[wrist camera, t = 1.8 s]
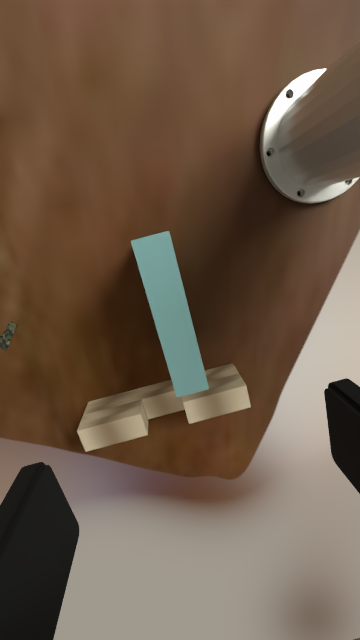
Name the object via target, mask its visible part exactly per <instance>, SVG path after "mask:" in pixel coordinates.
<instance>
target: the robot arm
mask: <svg viewBox="0 0 360 640" xmlns="http://www.w3.org/2000/svg"><path fill="white" fill-rule="evenodd" d="M285 95H286V96H287V97H288V99H287V98H286V96H285ZM267 152H268V153H269V154H270V155H269V157H268V156H267ZM260 156H261V162H262V165H263V169H264V172H265V174H266V176H267V178H268V180H269V181H270V183H271V184H272V185H273V186H274V188H275V189H276V190H277V191H278V192H280V193H281V194H282V195H283V196H285V197H287V198H288V199H290V200H292V201H296V202H300V203H309V204H312V203H319V202H324V201H327V200H331V199H333V198H335V197H337V196H339V195H341V194H342V193H344V192H345V191H347V190H348V189H349V188H350V187H351V186H352V185H353V184H354V183H355V182H356V181H357V180H358V179H359V178H360V38H359V39H358V40H357V41H355V42H354V43H353V44H352V45H351V46H350V47H349V48H348V49H347V50H346V51H345V52H344V53H343V54H342V55H341V56H340V57H339V58H338V59H337V60H336V61H335V62H334V63H333V64H331V65H330V66H329V67H328V68H323V69H316V70H312V71H309V72H307V73H304V74H302V75H300V76H299V77H297V78H296V79H294V80H292V81H291V82H290V83H289V84H288V85H287V86H286V87H285V88H284V89H283V90H282V91H281V92H280V93H279V94H278V96H277V97H276V98H275V99H274V101H273V103H272V104H271V106H270V108H269V109H268V111H267V114H266V116H265V119H264V121H263V125H262V130H261V134H260ZM297 192H299V196H298V195H297ZM325 401H326V410H327V419H328V428H329V436H330V445H331V453H332V457H333V459H334V461H335V463H336V464H337V466H338V467H339V468H340V470H341V471H342V472H343V473H344V475H345V476H346V477H347V478H348V480H349V481H350V482H351V483H352V485H353V486H354V487H355V488H356V489H357V491H358V492H359V493H360V387H359V386H358V385H356V384H355V383H353V382H352V381H351V380H349V379H342V380H339V381H335V382H332V383H329V385H328V389H325ZM78 537H79V525H78V522H77V520H76V518H75V516H74V514H73V512H72V510H71V508H70V506H69V504H68V502H67V500H66V497H65V495H64V493H63V491H62V489H61V487H60V485H59V483H58V481H57V479H56V477H55V475H54V473H53V471H52V469H51V467H50V466H49V465H45V464H44V463H43V462H39V463H35V464H32V465H28V466H25V467H23V468H22V469H21V470H20V472H19V473H18V475H17V477H16V479H15V480H14V482H13V484H12V486H11V487H10V489H9V491H8V493H7V494H6V496H5V498H4V500H3V502H2V503H1V505H0V640H53V638H54V634H55V629H56V625H57V621H58V618H59V613H60V610H61V606H62V602H63V598H64V593H65V590H66V586H67V581H68V577H69V573H70V569H71V565H72V561H73V557H74V553H75V549H76V545H77V541H78ZM354 640H360V638H358V639H354Z"/></svg>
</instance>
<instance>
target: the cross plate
mask: <svg viewBox="0 0 360 640" xmlns="http://www.w3.org/2000/svg"><path fill="white" fill-rule="evenodd" d="M131 244H132V247H133V251H134V254H135V257H136V261H137V264H138V268H139V271H140V274H141V278H142V281H143V285H144V288H145V291H146V295H147V298H148V302H149V305H150V308H151V312H152V315H153V318H154V322H155V325H156V329H157V332H158V335H159V339H160V342H161V346H162V349H163V352H164V356H165V359H166V363H167V366H168V369H169V373H170V376H171V379H172V383H173V386H174V390H175V393H176V396H177V397H181V396H185V395H188V394H192V393H196V392H200V391H203V390H207V389H209V386H208V382H207V379H206V375H205V371H204V367H203V363H202V359H201V355H200V351H199V347H198V343H197V339H196V335H195V331H194V327H193V323H192V319H191V315H190V311H189V307H188V303H187V299H186V296H185V292H184V288H183V284H182V280H181V276H180V272H179V268H178V264H177V260H176V256H175V252H174V248H173V244H172V240H171V236H170V232H169V231H165V232H161V233H158V234H154V235H150V236H146V237H143V238H139V239H135V240H132V241H131Z"/></svg>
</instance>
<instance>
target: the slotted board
mask: <svg viewBox="0 0 360 640" xmlns="http://www.w3.org/2000/svg"><path fill="white" fill-rule="evenodd" d="M205 375H206V379H207V382H208V386H209V389H207V390H203V391H200V392H196V393H192V394H188V395H185V396H181V397H177V396H176V393H175V390H174V386H173V383H172V379H171V380H168V381H164V382H160V383H156V384H153V385H149V386H145V387H142V388H138V389H134V390H130V391H127V392H123V393H119V394H116V395H112V396H108V397H104V398H101V399H97V400H93V401H90V402H88V404H87V407H86V409H85V412H84V414H83V417H82V419H81V422H80V424H79V427H78V429H77V433H78V435H79V437H80V440H81V442H82V444H83V446H84V449H85V451H86V452H87V451H91V450H94V449H98V448H102V447H106V446H109V445H113V444H117V443H120V442H124V441H128V440H131V439H135V438H139V437H143V436H146V435H148V419H152V418H155V417H159V416H163V415H166V414H170V413H174V412H178V411H181V410H185V412H186V415H187V418H188V422H189V424H191V423H194V422H198V421H202V420H205V419H209V418H213V417H217V416H220V415H224V414H228V413H231V412H235V411H239V410H242V409H246V408H250V407H251V406H250V401H249V396H248V391H247V386H246V384H245V382H244V381H243V379H242V377H241V376H240V374H239V372H238V371H237V369H236V367H235V366H234V364H233V363H231V364H227V365H223V366H220V367H216V368H212V369H208V370H205Z"/></svg>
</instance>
